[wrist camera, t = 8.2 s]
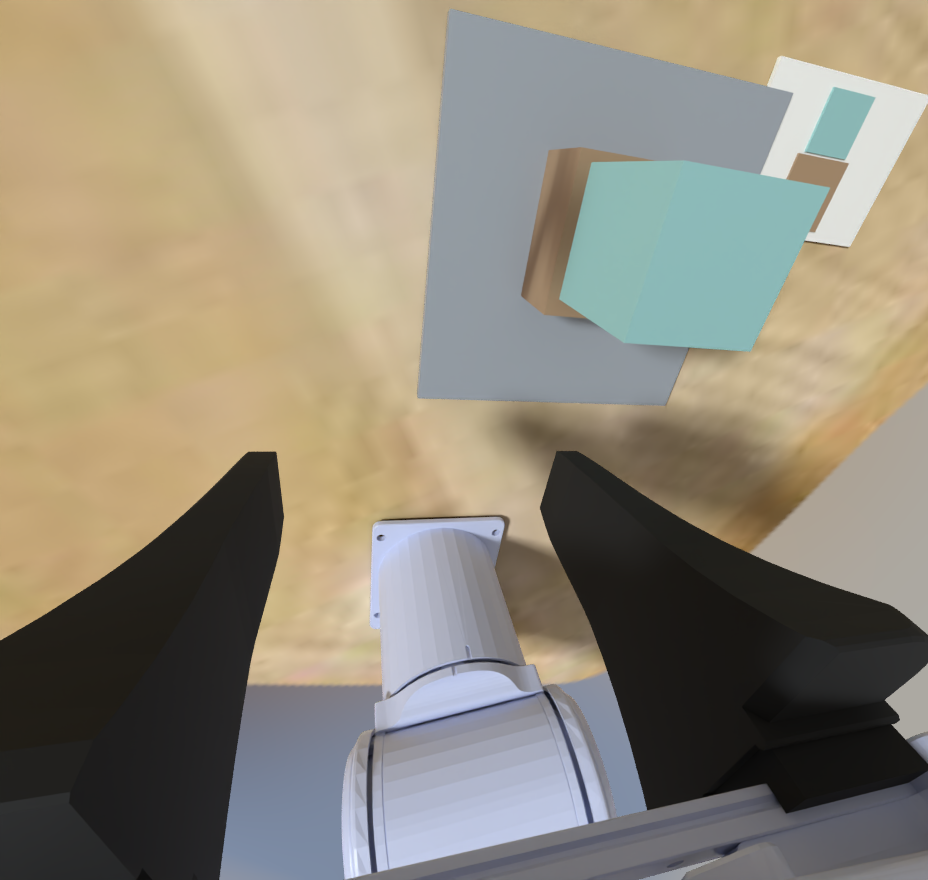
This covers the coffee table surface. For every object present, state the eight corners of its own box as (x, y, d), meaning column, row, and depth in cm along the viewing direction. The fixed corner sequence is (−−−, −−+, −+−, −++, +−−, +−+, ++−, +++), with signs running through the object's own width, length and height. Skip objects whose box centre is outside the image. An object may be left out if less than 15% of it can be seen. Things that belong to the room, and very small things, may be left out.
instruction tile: (845, 246, 22) (851, 247, 21) (712, 226, 20) (717, 227, 20) (926, 96, 19) (933, 95, 18) (778, 57, 17) (784, 55, 17)
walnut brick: (628, 305, 21) (665, 324, 18) (520, 295, 19) (544, 315, 17) (671, 172, 18) (721, 172, 15) (548, 150, 17) (581, 147, 14)
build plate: (661, 402, 25) (665, 405, 24) (417, 394, 21) (417, 398, 21) (785, 94, 18) (793, 92, 17) (447, 12, 14) (450, 8, 14)
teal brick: (659, 308, 18) (750, 351, 14) (559, 299, 17) (624, 343, 13) (705, 181, 15) (830, 187, 11) (591, 162, 14) (683, 160, 10)
